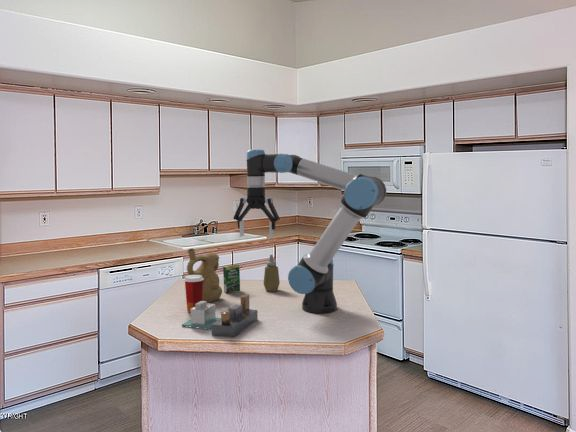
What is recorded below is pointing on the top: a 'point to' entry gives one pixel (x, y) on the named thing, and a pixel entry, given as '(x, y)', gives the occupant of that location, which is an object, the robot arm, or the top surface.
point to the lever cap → (202, 313)
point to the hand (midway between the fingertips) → (256, 236)
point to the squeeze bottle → (271, 276)
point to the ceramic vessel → (206, 274)
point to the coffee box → (231, 278)
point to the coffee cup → (193, 290)
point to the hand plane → (235, 319)
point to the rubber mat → (200, 325)
